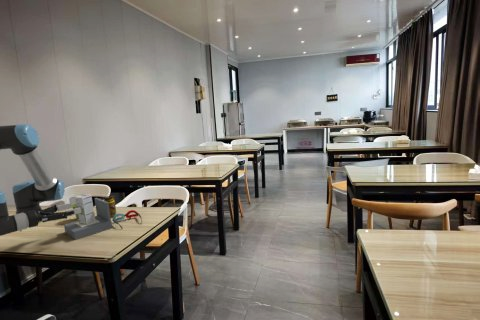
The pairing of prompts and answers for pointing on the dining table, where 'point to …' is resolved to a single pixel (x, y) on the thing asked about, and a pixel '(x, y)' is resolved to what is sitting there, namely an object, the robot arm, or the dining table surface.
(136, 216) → the novelty glasses
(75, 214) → the plant pot
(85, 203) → the syrup box
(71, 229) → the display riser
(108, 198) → the condiment
